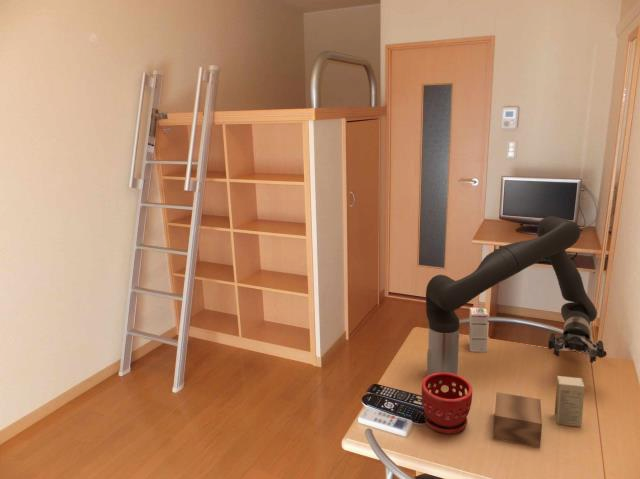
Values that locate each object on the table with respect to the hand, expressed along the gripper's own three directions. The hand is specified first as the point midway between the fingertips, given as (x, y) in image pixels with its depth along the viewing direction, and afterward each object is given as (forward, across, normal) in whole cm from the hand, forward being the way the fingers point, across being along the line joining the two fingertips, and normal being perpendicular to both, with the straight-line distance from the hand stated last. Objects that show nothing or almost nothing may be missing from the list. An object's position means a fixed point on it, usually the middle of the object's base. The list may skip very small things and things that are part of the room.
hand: (574, 356), depth 136 cm
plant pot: (+27, -29, +13) cm, 42 cm away
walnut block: (+21, -12, +13) cm, 28 cm away
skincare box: (+12, 0, +14) cm, 18 cm away
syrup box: (-20, -30, +14) cm, 39 cm away
